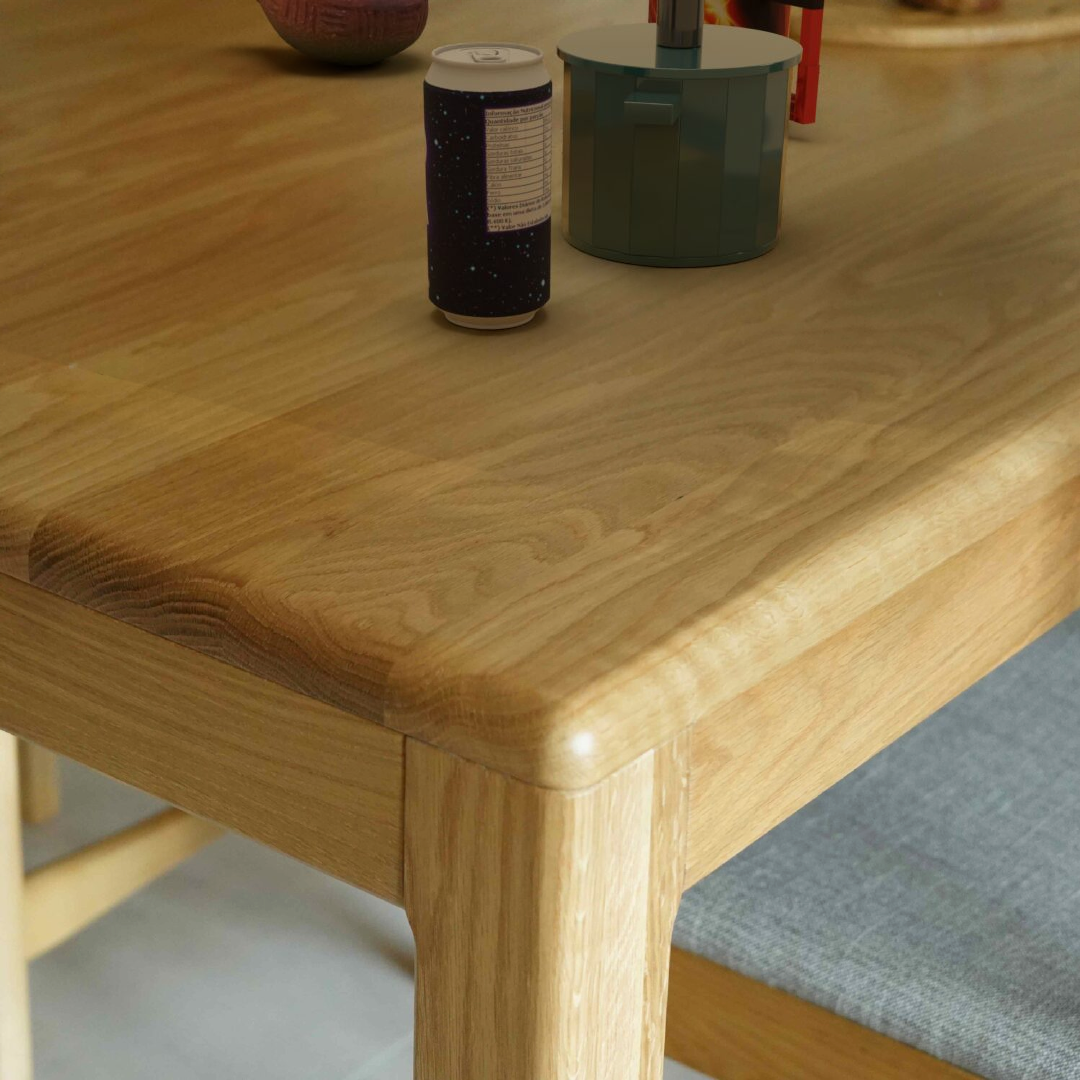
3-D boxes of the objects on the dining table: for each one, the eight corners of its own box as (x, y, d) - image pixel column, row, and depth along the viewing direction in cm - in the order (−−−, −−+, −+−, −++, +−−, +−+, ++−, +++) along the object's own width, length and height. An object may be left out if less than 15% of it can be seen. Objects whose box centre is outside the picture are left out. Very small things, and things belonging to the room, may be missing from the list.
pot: (794, 200, 95) (807, 31, 91) (758, 292, 80) (772, 95, 76) (598, 186, 97) (601, 21, 93) (528, 273, 83) (528, 81, 78)
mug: (808, 143, 107) (824, -51, 102) (620, 117, 113) (626, -67, 108) (860, 115, 115) (878, -67, 109) (680, 92, 121) (689, -81, 115)
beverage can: (539, 292, 80) (541, 38, 74) (559, 331, 75) (563, 63, 69) (423, 297, 79) (416, 41, 74) (435, 338, 74) (429, 66, 69)
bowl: (435, 47, 135) (432, -55, 132) (424, 80, 124) (421, -31, 120) (240, 46, 135) (232, -56, 132) (211, 78, 124) (202, -33, 120)
